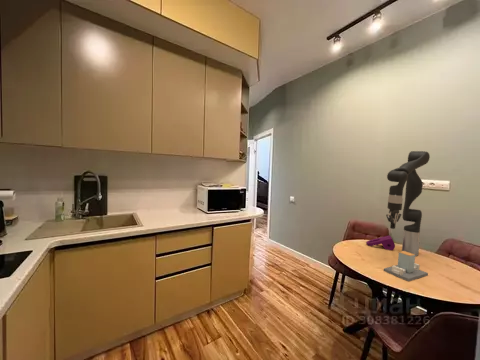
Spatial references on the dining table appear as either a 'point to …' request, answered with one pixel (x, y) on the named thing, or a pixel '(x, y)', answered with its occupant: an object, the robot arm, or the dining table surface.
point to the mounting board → (403, 272)
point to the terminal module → (406, 261)
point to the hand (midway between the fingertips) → (392, 228)
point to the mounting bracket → (382, 242)
